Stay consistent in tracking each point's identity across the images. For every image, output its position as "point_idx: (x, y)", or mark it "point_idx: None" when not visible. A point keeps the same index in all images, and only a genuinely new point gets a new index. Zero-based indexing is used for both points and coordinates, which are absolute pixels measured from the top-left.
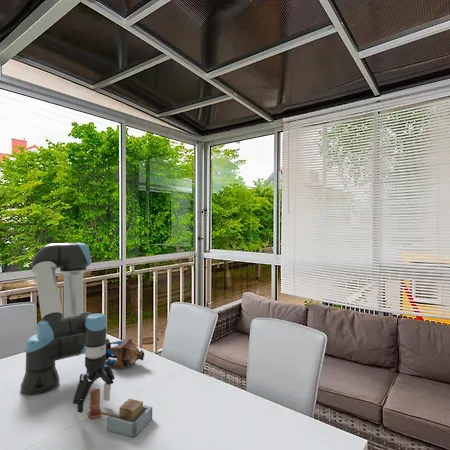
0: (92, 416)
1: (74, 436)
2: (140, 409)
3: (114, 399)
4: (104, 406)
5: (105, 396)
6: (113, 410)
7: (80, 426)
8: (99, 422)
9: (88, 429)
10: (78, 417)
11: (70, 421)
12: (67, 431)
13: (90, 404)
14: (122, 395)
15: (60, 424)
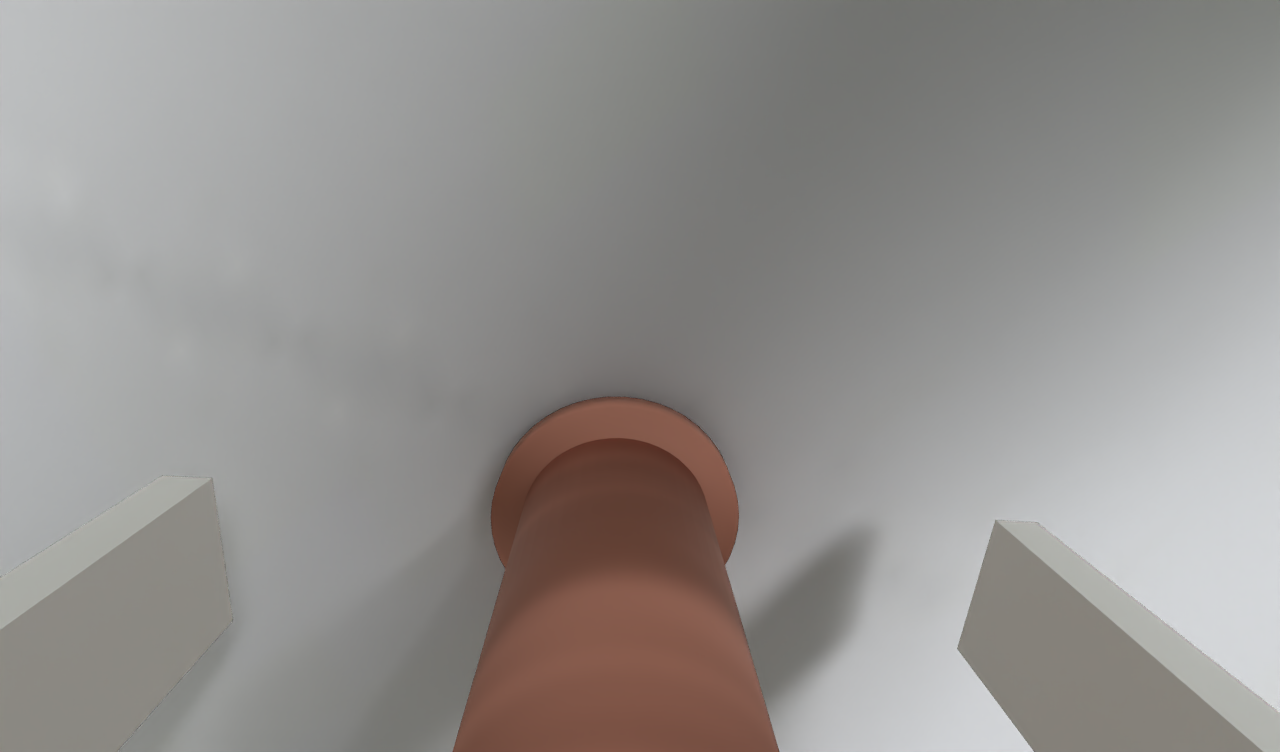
0: (507, 548)
1: (19, 544)
2: None
3: (1138, 531)
4: (901, 495)
5: (1040, 638)
6: (813, 686)
7: (260, 468)
8: (474, 672)
9: (263, 629)
10: (124, 509)
11: (286, 176)
12: (36, 344)
13: (485, 646)
14: (1270, 587)
15: (104, 23)
